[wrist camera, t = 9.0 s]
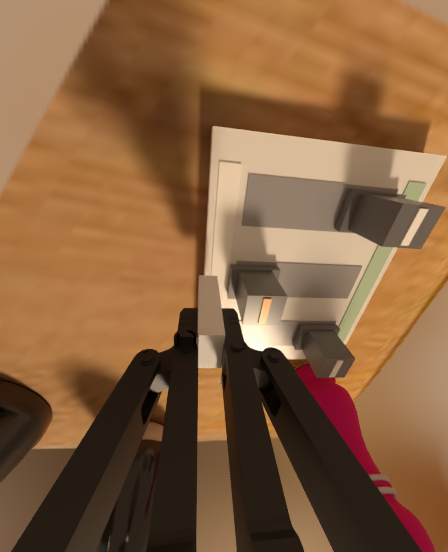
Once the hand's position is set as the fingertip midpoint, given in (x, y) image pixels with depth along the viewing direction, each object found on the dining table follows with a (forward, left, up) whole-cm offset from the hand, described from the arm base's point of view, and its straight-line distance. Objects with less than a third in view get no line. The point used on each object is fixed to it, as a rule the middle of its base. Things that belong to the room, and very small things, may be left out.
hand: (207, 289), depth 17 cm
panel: (+9, 0, -4) cm, 10 cm away
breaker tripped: (+4, 0, -2) cm, 5 cm away
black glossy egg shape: (-8, -31, -4) cm, 32 cm away
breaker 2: (+13, +7, -2) cm, 15 cm away
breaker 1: (+13, -7, -2) cm, 15 cm away
